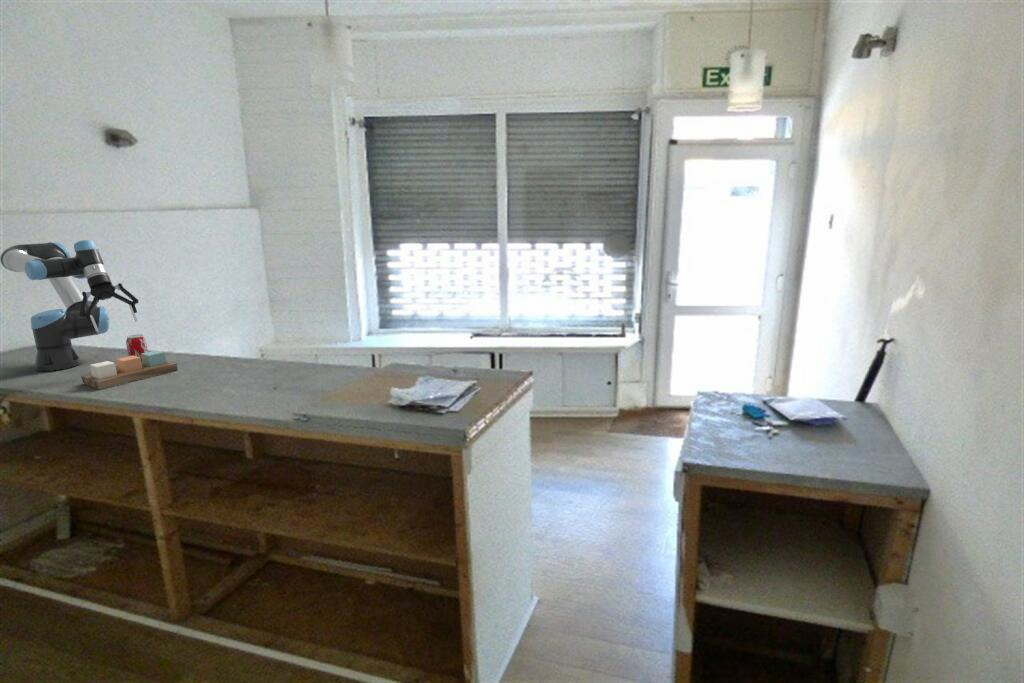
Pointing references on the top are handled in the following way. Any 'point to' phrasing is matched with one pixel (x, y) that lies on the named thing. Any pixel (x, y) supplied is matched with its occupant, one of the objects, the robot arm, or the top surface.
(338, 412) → the top surface
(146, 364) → the teal cube
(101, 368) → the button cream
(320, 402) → the top surface
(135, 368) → the orange cube
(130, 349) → the soda can
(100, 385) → the board
